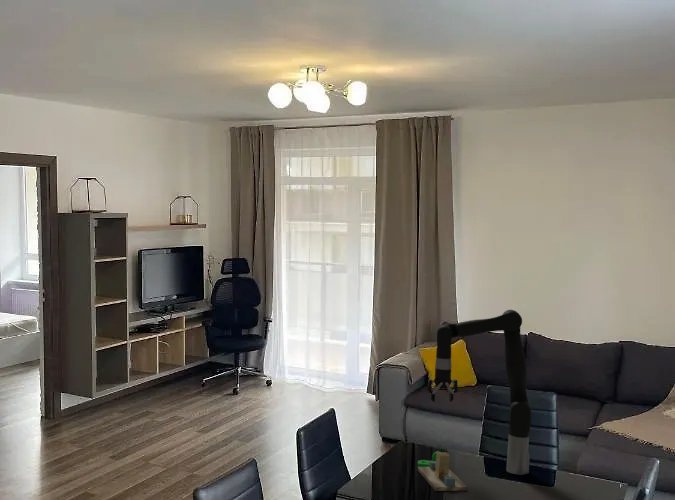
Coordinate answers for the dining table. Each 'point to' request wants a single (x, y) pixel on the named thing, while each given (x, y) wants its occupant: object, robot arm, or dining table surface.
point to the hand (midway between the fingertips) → (441, 401)
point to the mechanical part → (426, 461)
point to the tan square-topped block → (442, 464)
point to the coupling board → (441, 479)
